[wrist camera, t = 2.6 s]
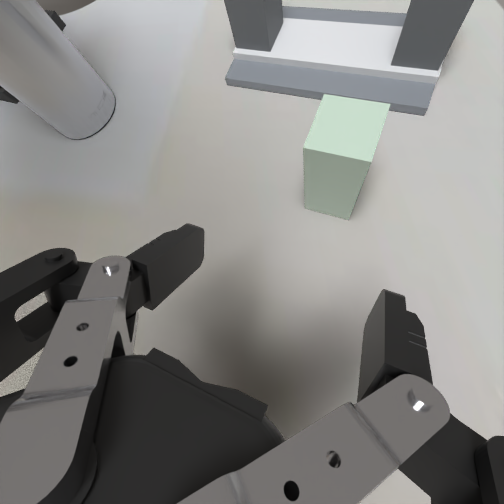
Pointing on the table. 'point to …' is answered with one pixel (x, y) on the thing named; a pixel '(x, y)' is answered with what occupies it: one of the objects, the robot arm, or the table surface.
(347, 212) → the block
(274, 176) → the table surface
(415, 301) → the table surface
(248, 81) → the rail board
